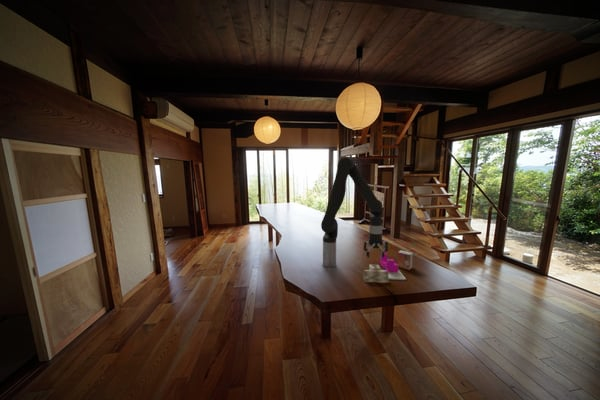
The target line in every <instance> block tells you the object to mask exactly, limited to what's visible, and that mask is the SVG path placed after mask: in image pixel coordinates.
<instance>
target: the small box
mask: <svg viewBox="0 0 600 400" xmlns="http://www.w3.org/2000/svg"><path fill="white" fill-rule="evenodd" d="M413 254H414V252H411V251H406V250H402V249H401V250H399V251H397V263H396V264H397V265H398V268H401V269H405V270H408V271H410V270H411V269H413V256H414V255H413Z"/></svg>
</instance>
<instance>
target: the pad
mask: <svg viewBox="0 0 600 400" xmlns="http://www.w3.org/2000/svg"><path fill="white" fill-rule="evenodd" d="M380 271H387V270H386V269H380ZM388 280H395V281H396V280H397V281H399V280H400V281H406V280H407V278H406V277H405V276H404V274H403V273H402V272H401V270H400V269H398V272H389V273H388Z"/></svg>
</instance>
